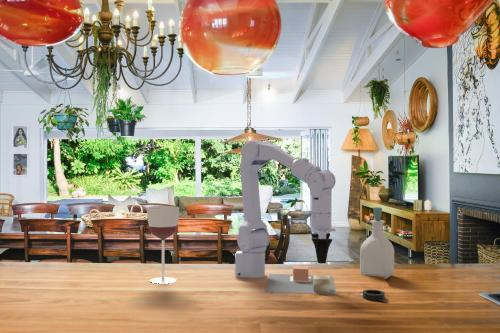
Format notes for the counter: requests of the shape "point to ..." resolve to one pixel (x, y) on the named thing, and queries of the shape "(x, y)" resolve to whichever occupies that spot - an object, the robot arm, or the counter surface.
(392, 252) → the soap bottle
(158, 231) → the wineglass
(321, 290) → the top block
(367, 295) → the duct tape
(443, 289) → the counter surface
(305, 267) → the base block
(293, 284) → the board
